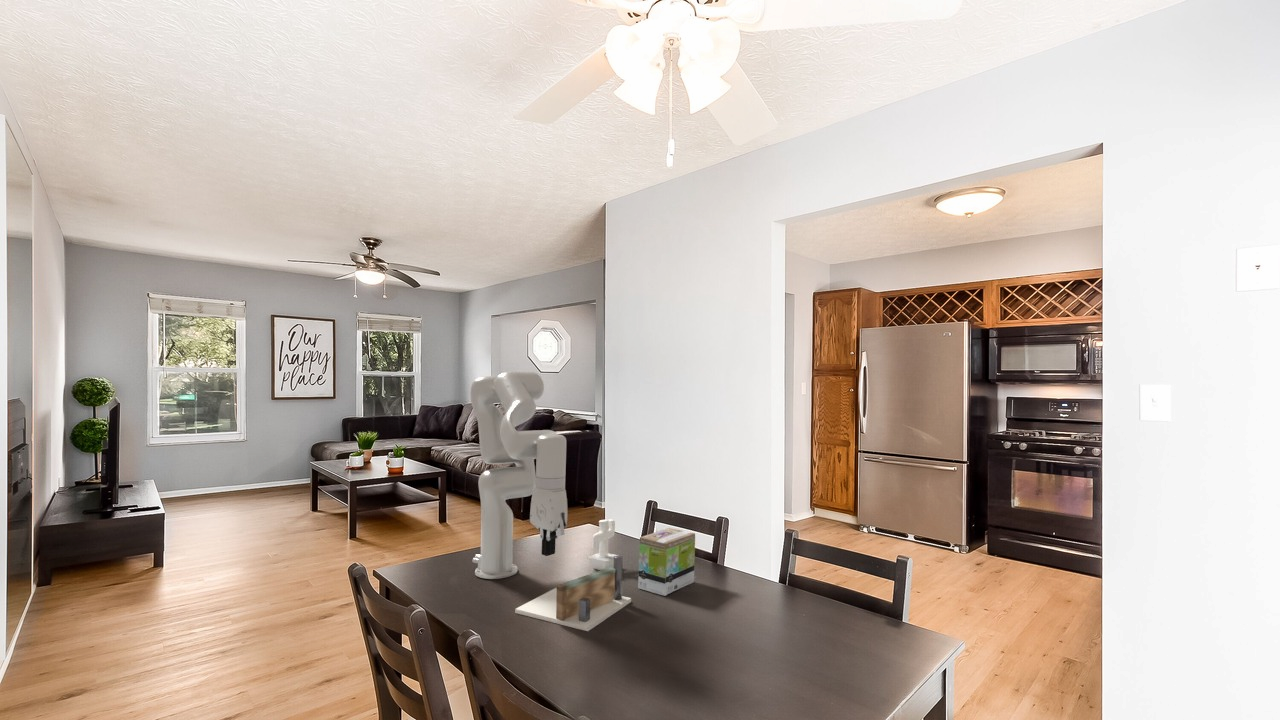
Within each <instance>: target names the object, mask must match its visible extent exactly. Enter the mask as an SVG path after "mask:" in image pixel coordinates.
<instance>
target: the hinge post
mask: <svg viewBox="0 0 1280 720" xmlns="http://www.w3.org/2000/svg"><path fill="white" fill-rule="evenodd" d="M613 568H614V569H615V594H614V600H621V599H622V596H623V556H622V555H619V556H614V563H613ZM588 620H590V598H585V597H583V598H581V599H579V621H582V622H587V621H588Z"/></svg>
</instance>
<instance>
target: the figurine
mask: <svg viewBox="0 0 1280 720" xmlns="http://www.w3.org/2000/svg"><path fill="white" fill-rule="evenodd" d="M598 525H599V526H598V528H599V531H598V532H596V533H594V534H593V536H592V544H591V545H592V551H593V552H596V553H595V554H592V555H590V556H587V559H588V561H589V563H590V565H591V566H592V568H593V569H594V570H598V571H601V570H604V569H606V568H609V567H611V568H613V563H614V556H620V555H619V554H613V553H609V539H612V538H613V537H614V536H615V532H616V530H615V528H616V527H615V526H616V521H615V519H601V520H599V521H598Z"/></svg>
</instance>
